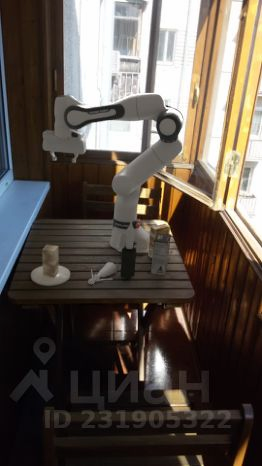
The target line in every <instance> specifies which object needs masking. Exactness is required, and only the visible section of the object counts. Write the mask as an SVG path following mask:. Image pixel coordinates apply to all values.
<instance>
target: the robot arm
mask: <svg viewBox="0 0 262 466" xmlns="http://www.w3.org/2000/svg"><path fill="white" fill-rule="evenodd" d="M53 110H54V113H53V114H54V120H55V121H54V130H48V129H46V130H44V131H43V132H42V140H43V141H42V149H43V151H48V152H49V154H50V155H51V157H52V161H55V162H56V161H58V156H56V155H55V152H56V153H67V154H74V157H73V158H71V163H73V164H75V163H77V158H78V157H79V155H84V154H85V153H86V151H87V145H86V144H87V143H86V139H85V138H84V136H85V132H84V131H83V130H81V129H83V128H85V127H87V126H90V125H91V124H93V123H94V124H95V123H100V122H106V121H107V122H108V121H121V122H139V121H146V120H152V121H154V122H155V128H156V132H157V134H158V137H159V139H158V140H157V141H156V142H155V143H153V144H152V145H150V147H148V148H147V149H145V150H144V151H143V152H142V153H141V154H139V155H138V156H137V157H136V158H135V159H133V160H131V162H129V163H128V164H127V165H126V166H125V167H123V168H122V169H121V170H120V171H118V172H117V173H116V174H115V175H114V177H113V179H112V182H111V188H112V190H113V192H114V193H115V194H116V198H115V200H114V209H113V210H114V213H113V214H114V215H113V218H112V232H111V237H110V240H109V242H108V243H109V246H110V247H112V248H113V249H115V250H117V252H120V253H122V248H124V246H126V238H127V229H128V227H129V225H130V222H132V226H133V228H134V240H133V246H134V247H135V248H136V254H148V252H149V240H150V232H148V231H147V230H146V229H144V228H143V227H142V226H141V219H140V218H137V217H138V206H139V205H138V203H139V199H140V193H141V188H142V185H144V184H145V183H146V182H148V180H149V179H151V178H152V177H154V175H156V174H157V173H159V172H160V171H161V170H163V169H164V168H165V167H166V166H168V165H170V163H171V162H173V160H175V159H176V158H177V157H178V156H179V155H180V154H181V152H182V151H183V143H182V141H181V139H180V138H179V135H180V132H181V131H182V129H183V126H184V125H183V124H184V117H183V114H182V112H181V111H180V110H178V108H175V107H172V106H171V105H168V104H165V99H164V97H163V96H162V95H161V94H160V93H157V92H156V93H155V92H142V93H135V94H131V95H127V96H124V97H121V98H119V99H118V100H115V101H114V102H110V103H107V104H104V105H100V106H99V105H98V106H91V105H89V104H86V103H84V102H82V101H80V100H79V99H76V98H75V97H74V95H72V94H63V95H58V96H56V98H55V100H54V109H53Z"/></svg>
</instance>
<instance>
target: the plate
mask: <svg viewBox="0 0 262 466" xmlns="http://www.w3.org/2000/svg"><path fill="white" fill-rule="evenodd" d="M30 278H31V281H32V282H34V283H35V284H38V285H39V286H43V287H54V286H59V285H62V284H64V283H67V282H68V281H69V280H70V278H71V271H70V270H69V269H68V268H67V267H65V266H62V265H59V272H58V273H57V275H56V276H55V277H47V276H43V265H42V266H38V267H36V268H34V269H33V270H32V271H31V273H30Z"/></svg>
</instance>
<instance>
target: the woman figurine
mask: <svg viewBox="0 0 262 466" xmlns="http://www.w3.org/2000/svg"><path fill="white" fill-rule="evenodd" d="M118 265H119V264H118V263H116V264H115V263H114V261H112V262H111V261H108V262H106V263H105V265H104V266H103V267H102V268H101V269H100V270H99V271H98V272H97V273H95V274H93V269H91V270H90V272H91V278H89V279H88V280H87V284H88V285H89V284H90V286H93V285H95V284H94V283H96V282H97V283H98V282H101V281H102V282H103V281H113V278H112V277H110V278H106V277H108V276H111V275H114V274H115V273H117V272H118ZM92 284H93V285H92Z"/></svg>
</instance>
